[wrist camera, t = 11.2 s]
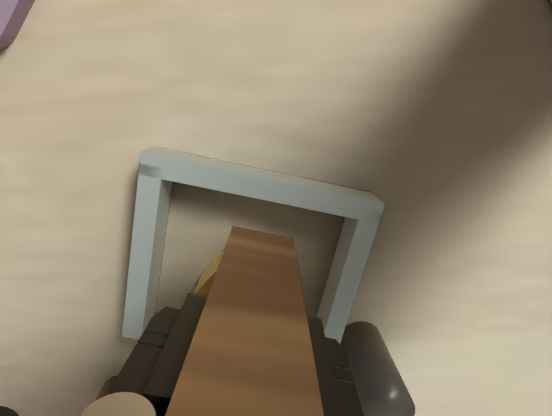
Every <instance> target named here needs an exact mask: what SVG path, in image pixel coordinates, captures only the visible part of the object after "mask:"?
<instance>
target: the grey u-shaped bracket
mask: <svg viewBox="0 0 552 416" xmlns="http://www.w3.org/2000/svg"><path fill="white" fill-rule="evenodd" d="M172 182H178V183H183V184H188V185H193V186H198V187H202V188H207V189H212V190H217V191H222V192H227V193H232V194H237V195H241V196H246V197H251V198H256V199H261V200H266V201H271V202H275V203H280V204H285V205H290V206H295V207H300V208H305V209H309V210H314V211H319V212H324V213H329V214H334V215H339V216H344V217H345V221H344V224H343V227H342V231H341V234H340V238H339V241H338V245H337V248H336V251H335V255H334V258H333V262H332V265H331V268H330V272H329V275H328V279H327V282H326V286H325V289H324V292H323V296H322V299H321V303H320V306H319V310H318V313H317V316H316V318H320V319H321V320H322V325H323V330H324V334H325V337H327V338H332V339H336V340H337V341H338V343H339V344H340V343H341V340H342V336H343V333H344V330H345V327H346V324H347V321H348V318H349V315H350V312H351V309H352V306H353V302H354V299H355V296H356V293H357V290H358V287H359V284H360V281H361V278H362V275H363V272H364V268H365V265H366V262H367V259H368V256H369V253H370V250H371V247H372V244H373V241H374V238H375V235H376V231H377V228H378V225H379V222H380V219H381V216H382V213H383V210H384V207H385V203H384V202H383V201H382V200H380V199H379V198H378V197H377V196H376V195H374V194H373V193H371V192H367V191H362V190H357V189H353V188H348V187H343V186H339V185H334V184H329V183H325V182H320V181H315V180H310V179H306V178H301V177H296V176H292V175H287V174H282V173H278V172H273V171H268V170H263V169H259V168H254V167H249V166H245V165H240V164H235V163H231V162H226V161H221V160H216V159H212V158H207V157H202V156H198V155H193V154H188V153H184V152H179V151H174V150H169V149H165V148H160V147H154V148H151V149H148V150H145V151H142V152H141V154H140V164H139V174H138V183H137V193H136V203H135V212H134V222H133V232H132V242H131V251H130V261H129V271H128V280H127V290H126V300H125V310H124V319H123V329H122V337H126V338H132V339H138V340H139V339H140V337H141V335H142V334H143V333H144V330H145V328H146V327H147V325H148V323H149V321H150V320H151V318H152V317H153V316H154V315H155V309H156V302H157V294H158V287H159V279H160V272H161V264H162V257H163V249H164V242H165V234H166V227H167V219H168V212H169V204H170V197H171V189H172Z"/></svg>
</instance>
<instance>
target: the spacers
mask: <svg viewBox="0 0 552 416" xmlns="http://www.w3.org/2000/svg"><path fill="white" fill-rule="evenodd" d="M340 345H341V347H342V348H343V349H344V351H345V352H346V354H347V358H348V361H349V365H350V371H351V372H352V376H353V379H354V384H355V386H356V390H357V394H358V397H359V401H360V404H361V408H362V411H363V415H364V416H414V414H415V405H414V403H413V401H412V398H411V396H410V394H409V392H408V390H407V388H406V386H405V384H404V382H403V380H402V378H401V376H400V374H399V372H398V370H397V368H396V366H395V363H394V361H393V359H392V357H391V355H390V353H389V351H388V349H387V347H386V345H385V343H384V341H383V339H382V337H381V335H380V333H379V331H378V329H377V328H376V327H375V326H374V325H372V324H370V323H368V322H355V323H352V324H350V325H348V326H346V327H345V330H344V333H343V336H342V340H341V343H340ZM117 377H118V376H115V377H112V378H110V379H109V380H108V381H107V382H106V383H105V385H104V386H103V388H102V390H101V391H100V393H99V395H98V396H97V398H96V400H98V399H100V398H101V397H104V396H106V395H107V394H108V393H109V391H110V389H111V388H112V386H113V384H114V382H115V381H116V379H117ZM96 400H95V401H96Z"/></svg>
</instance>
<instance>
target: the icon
mask: <svg viewBox="0 0 552 416" xmlns="http://www.w3.org/2000/svg"><path fill="white" fill-rule="evenodd" d="M34 1H35V0H0V50H1V49H4V48H6V47H7V46H9V45H10V44H11V43H12V42H13V41H14V39H15V38H16V36H17V34H18V32H19V30H20V28H21V26H22V24H23V22H24V20H25V18H26V16H27V14H28V13H29V11H30V9H31V7H32V5H33V3H34Z"/></svg>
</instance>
